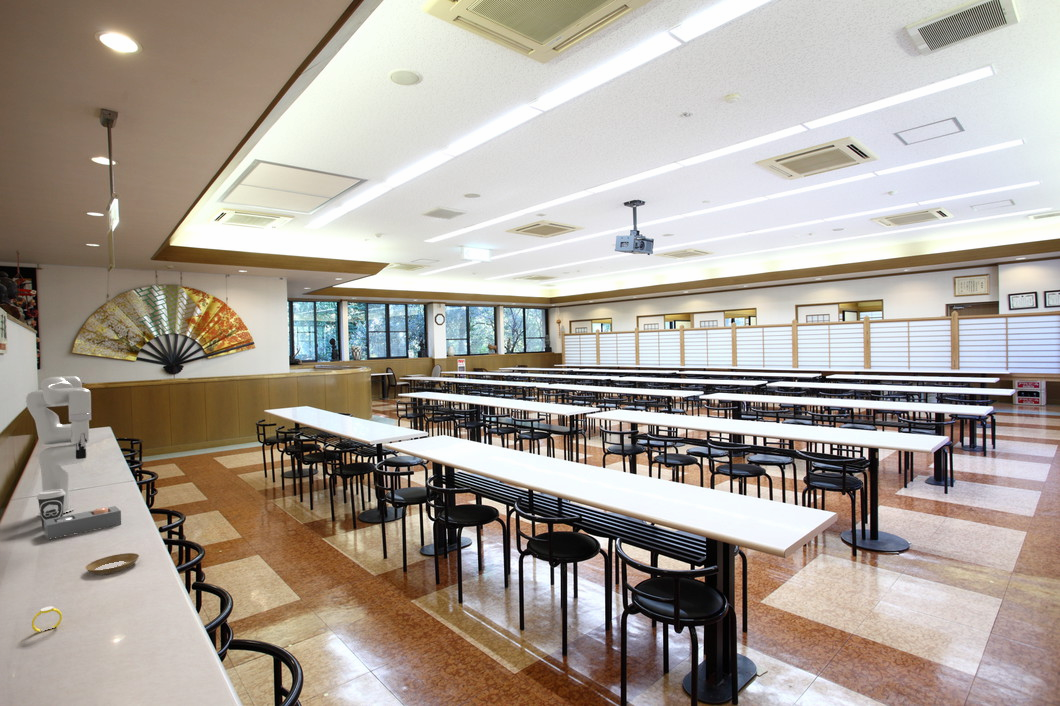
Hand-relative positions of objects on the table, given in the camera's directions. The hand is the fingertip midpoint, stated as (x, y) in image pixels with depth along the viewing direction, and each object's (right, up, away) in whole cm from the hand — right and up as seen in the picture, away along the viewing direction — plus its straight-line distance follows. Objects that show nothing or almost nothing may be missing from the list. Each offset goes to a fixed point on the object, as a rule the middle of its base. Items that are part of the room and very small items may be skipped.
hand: (80, 458), depth 232 cm
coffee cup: (-13, -30, 0) cm, 33 cm away
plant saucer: (+53, -29, -49) cm, 78 cm away
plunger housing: (+7, -29, -6) cm, 31 cm away
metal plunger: (+3, -29, -11) cm, 31 cm away
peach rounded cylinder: (+10, -28, -2) cm, 30 cm away
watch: (+68, -29, -89) cm, 116 cm away
